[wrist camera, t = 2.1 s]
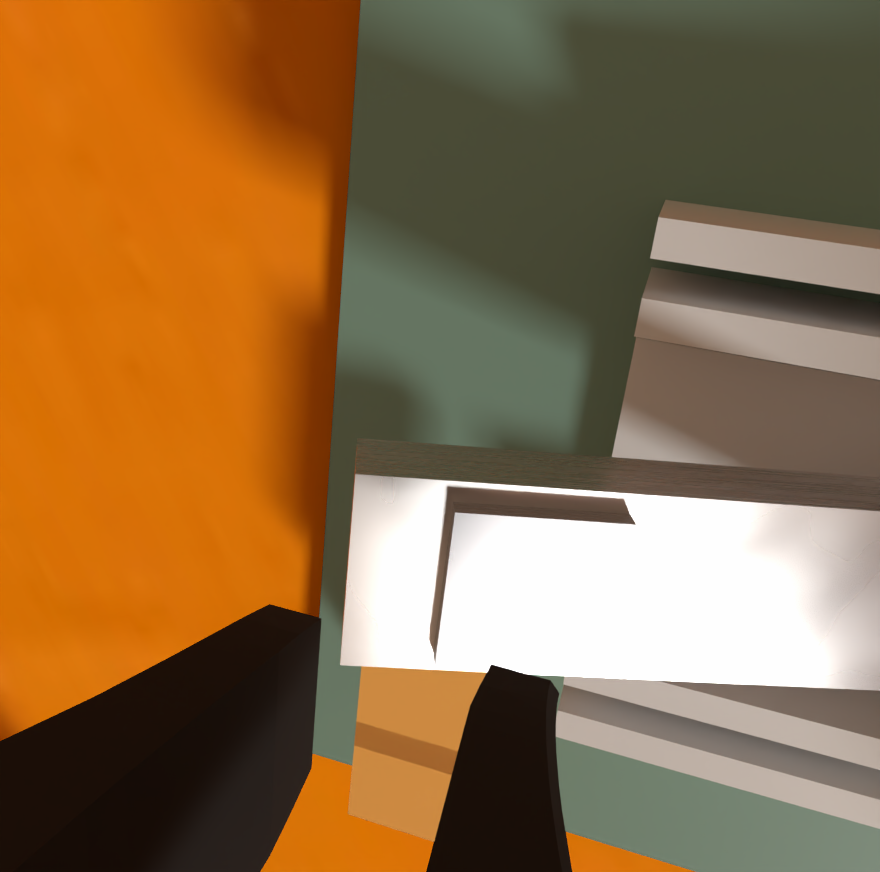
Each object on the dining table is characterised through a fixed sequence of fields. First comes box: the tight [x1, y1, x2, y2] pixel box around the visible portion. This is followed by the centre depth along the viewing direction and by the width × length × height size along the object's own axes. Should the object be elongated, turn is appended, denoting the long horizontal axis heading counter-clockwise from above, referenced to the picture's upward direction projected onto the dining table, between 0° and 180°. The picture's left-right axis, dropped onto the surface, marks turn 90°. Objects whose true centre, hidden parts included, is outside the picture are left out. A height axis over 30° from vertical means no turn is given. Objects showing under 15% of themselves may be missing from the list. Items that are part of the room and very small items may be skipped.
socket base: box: [312, 0, 880, 872], centre depth 15 cm, size 18×20×4 cm
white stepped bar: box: [340, 438, 880, 691], centre depth 12 cm, size 13×3×2 cm, turn 83°
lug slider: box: [348, 666, 487, 842], centre depth 18 cm, size 2×5×4 cm, turn 175°
